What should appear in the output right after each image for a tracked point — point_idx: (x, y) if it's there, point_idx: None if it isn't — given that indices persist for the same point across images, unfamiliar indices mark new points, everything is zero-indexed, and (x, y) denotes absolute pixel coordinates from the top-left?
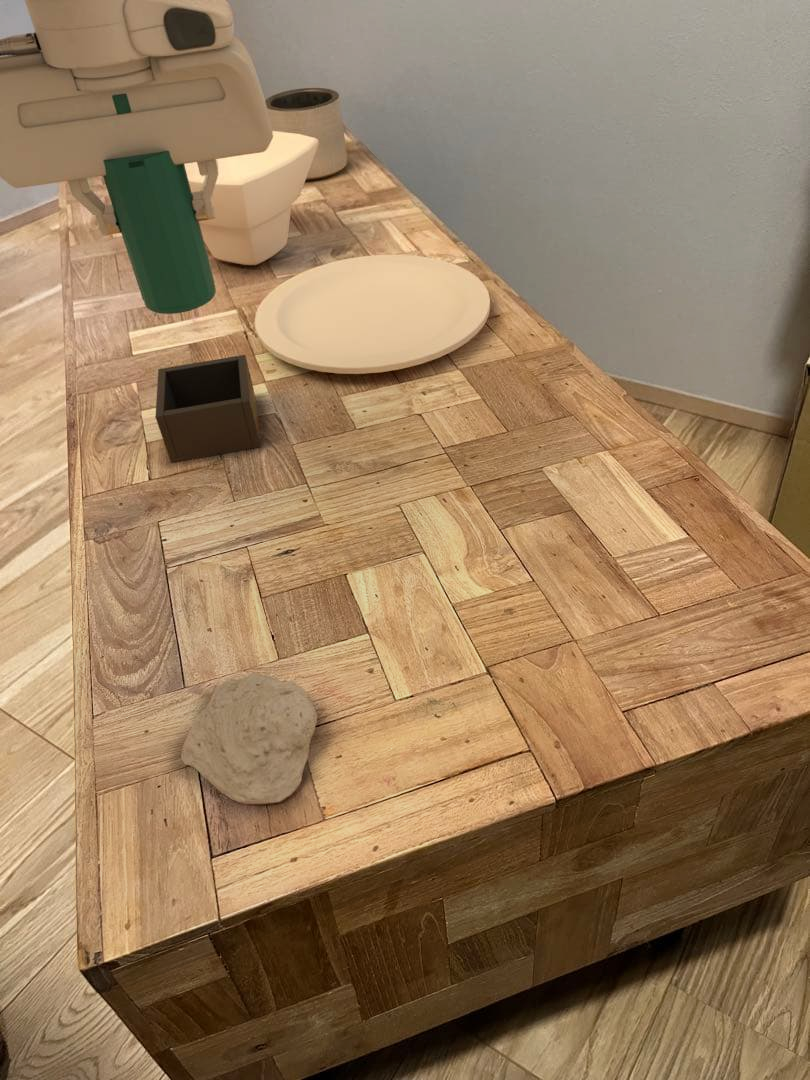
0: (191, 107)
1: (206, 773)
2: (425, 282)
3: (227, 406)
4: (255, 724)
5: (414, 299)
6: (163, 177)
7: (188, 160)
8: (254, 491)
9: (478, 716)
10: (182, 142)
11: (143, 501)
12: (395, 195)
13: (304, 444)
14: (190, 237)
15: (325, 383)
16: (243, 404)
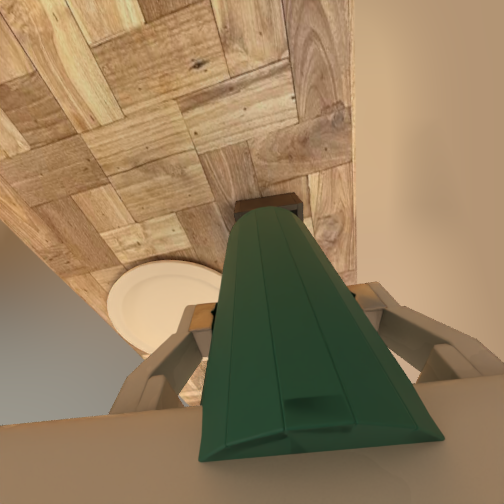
0: None
1: None
2: (158, 339)
3: (250, 210)
4: None
5: (163, 327)
6: (234, 360)
7: (158, 416)
8: (233, 150)
9: None
10: (134, 499)
11: (310, 150)
12: (193, 405)
13: (207, 200)
14: (227, 270)
15: (204, 261)
16: (238, 211)
